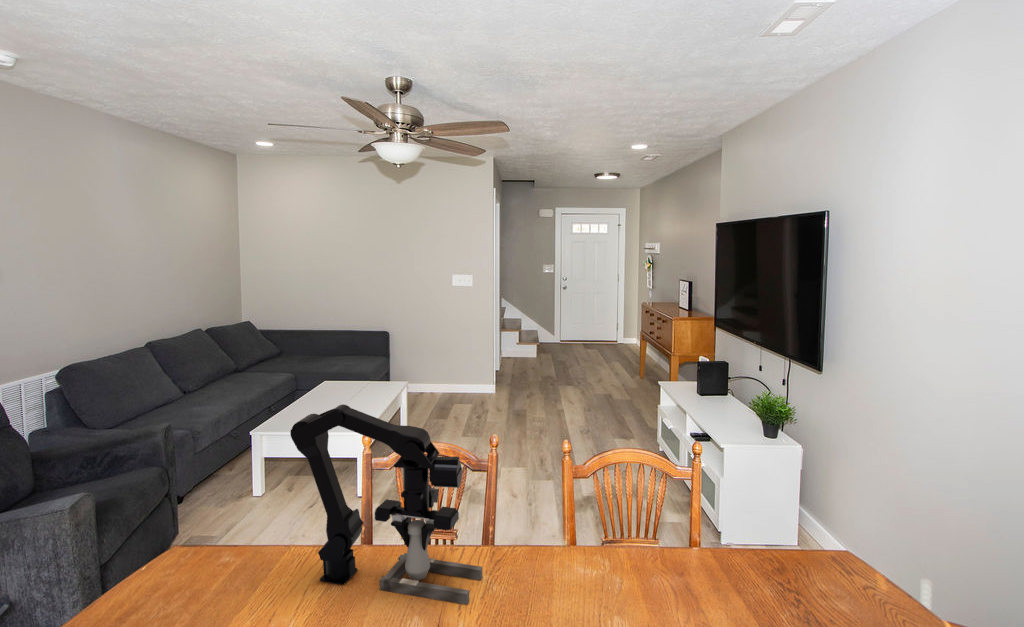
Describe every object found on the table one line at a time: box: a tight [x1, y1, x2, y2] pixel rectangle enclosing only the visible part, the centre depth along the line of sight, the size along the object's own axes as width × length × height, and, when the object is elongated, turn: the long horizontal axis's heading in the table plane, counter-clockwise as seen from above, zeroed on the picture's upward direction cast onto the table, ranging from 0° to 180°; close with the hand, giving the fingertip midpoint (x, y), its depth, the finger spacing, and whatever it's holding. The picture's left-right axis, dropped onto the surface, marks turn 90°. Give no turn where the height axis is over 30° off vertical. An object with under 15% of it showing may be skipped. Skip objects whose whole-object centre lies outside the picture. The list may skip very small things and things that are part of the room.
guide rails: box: [378, 552, 483, 605], centre depth 133 cm, size 21×11×3 cm, turn 75°
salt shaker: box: [405, 519, 430, 581], centre depth 133 cm, size 6×6×13 cm
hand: (417, 549), depth 133 cm, fingers closed on salt shaker, 3 cm apart
